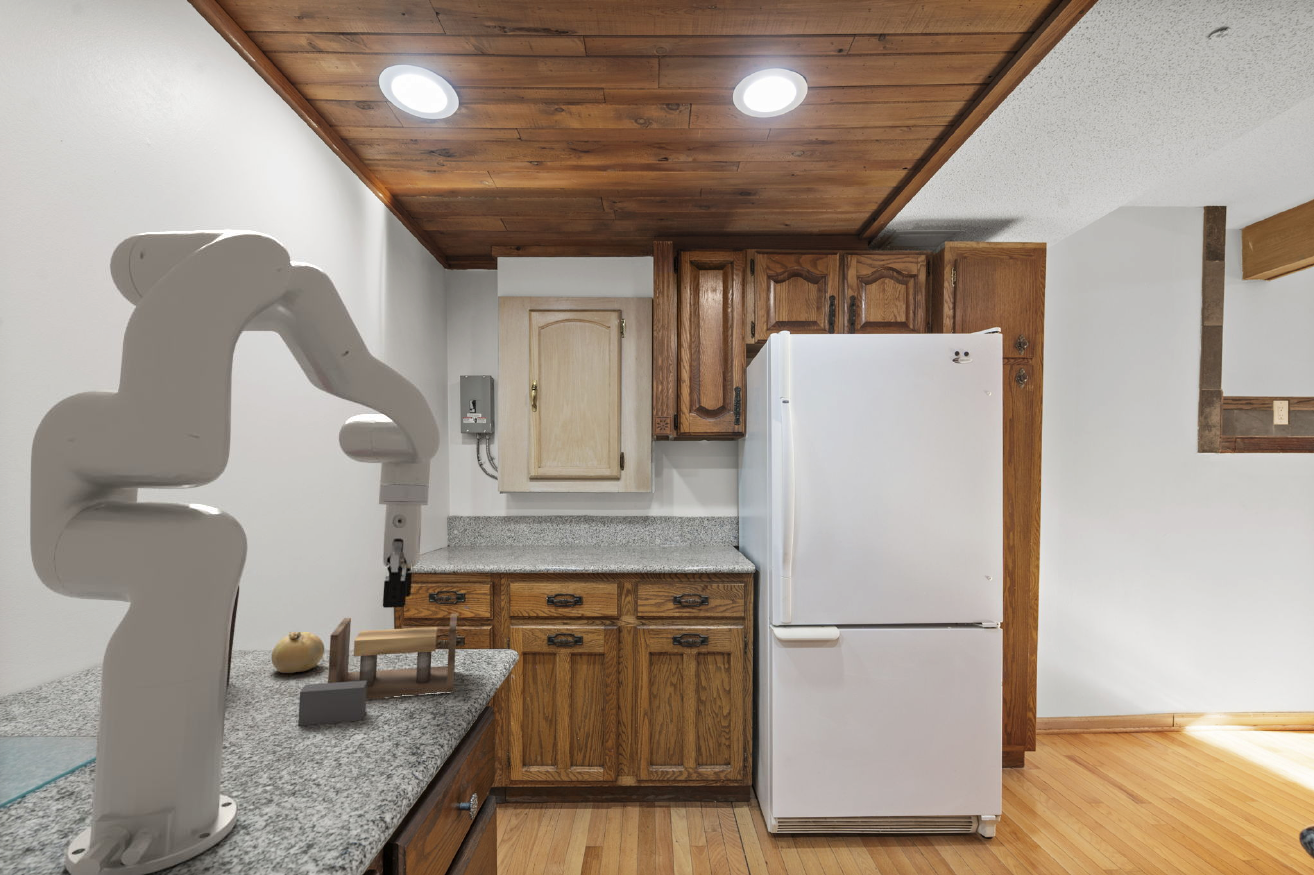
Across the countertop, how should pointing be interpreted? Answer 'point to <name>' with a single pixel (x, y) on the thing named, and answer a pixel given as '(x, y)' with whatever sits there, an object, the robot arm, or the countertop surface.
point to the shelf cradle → (391, 680)
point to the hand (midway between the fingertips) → (397, 601)
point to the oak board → (395, 641)
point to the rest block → (332, 702)
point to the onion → (297, 652)
